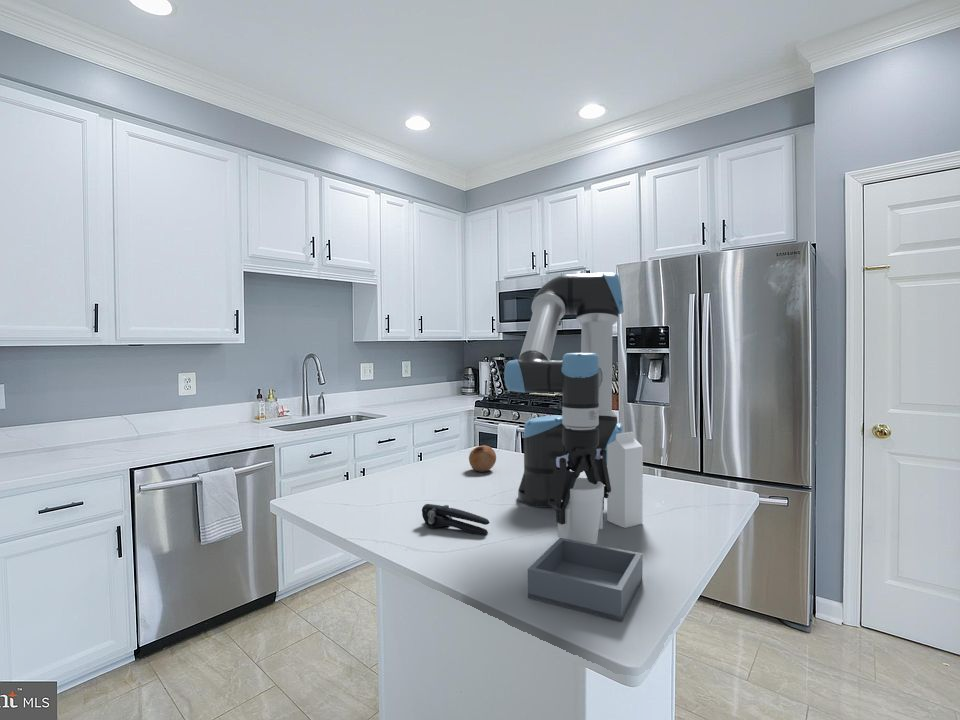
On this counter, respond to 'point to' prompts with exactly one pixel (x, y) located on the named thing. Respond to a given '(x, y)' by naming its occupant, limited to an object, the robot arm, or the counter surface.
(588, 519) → the foam cup
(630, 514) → the pale carton
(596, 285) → the robot arm
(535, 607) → the counter surface
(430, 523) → the can opener
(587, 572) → the bin
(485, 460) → the onion
